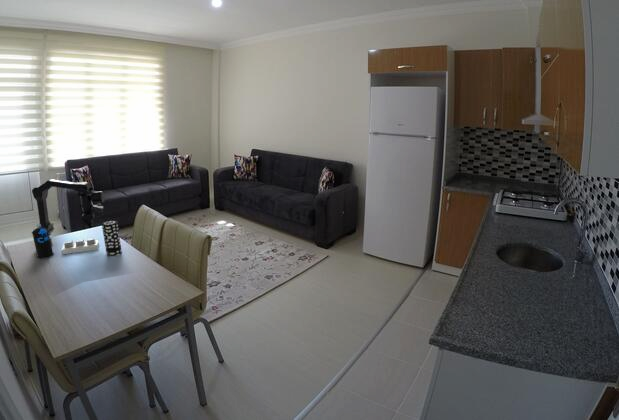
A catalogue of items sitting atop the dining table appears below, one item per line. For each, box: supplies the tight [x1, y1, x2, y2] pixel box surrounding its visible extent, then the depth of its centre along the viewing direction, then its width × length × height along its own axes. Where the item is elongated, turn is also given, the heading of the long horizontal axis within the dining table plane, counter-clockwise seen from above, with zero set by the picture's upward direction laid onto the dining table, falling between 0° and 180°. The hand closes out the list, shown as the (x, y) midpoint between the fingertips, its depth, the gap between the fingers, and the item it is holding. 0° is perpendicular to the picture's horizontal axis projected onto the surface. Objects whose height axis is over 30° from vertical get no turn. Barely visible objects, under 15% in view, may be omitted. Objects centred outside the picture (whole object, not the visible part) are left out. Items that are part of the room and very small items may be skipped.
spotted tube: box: [101, 220, 123, 257], centre depth 219 cm, size 8×8×20 cm
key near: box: [63, 240, 74, 248], centre depth 224 cm, size 4×4×3 cm
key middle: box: [75, 238, 85, 246], centre depth 227 cm, size 4×4×3 cm
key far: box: [86, 237, 96, 245], centre depth 229 cm, size 4×4×3 cm
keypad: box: [61, 239, 100, 255], centre depth 228 cm, size 19×9×3 cm, turn 116°
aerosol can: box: [31, 223, 55, 259], centre depth 215 cm, size 8×8×20 cm
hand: (90, 225), depth 232 cm, fingers open, 9 cm apart
